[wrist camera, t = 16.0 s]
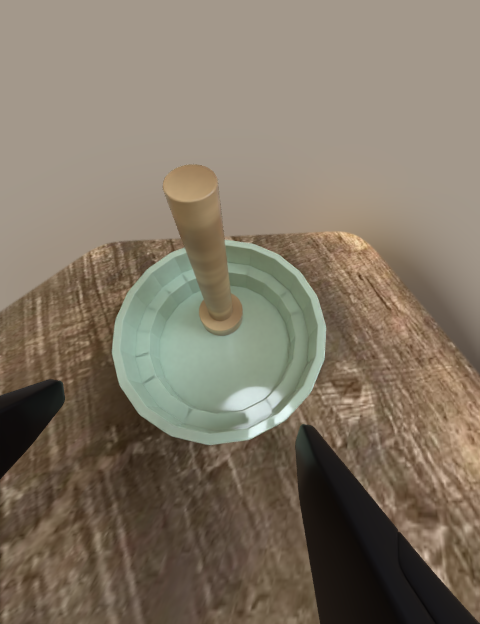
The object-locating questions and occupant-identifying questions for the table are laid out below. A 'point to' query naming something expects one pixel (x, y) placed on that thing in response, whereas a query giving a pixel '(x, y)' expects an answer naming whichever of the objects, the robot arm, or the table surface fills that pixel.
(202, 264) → the pestle
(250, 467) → the table surface
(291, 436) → the table surface
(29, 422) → the robot arm
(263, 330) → the bowl
